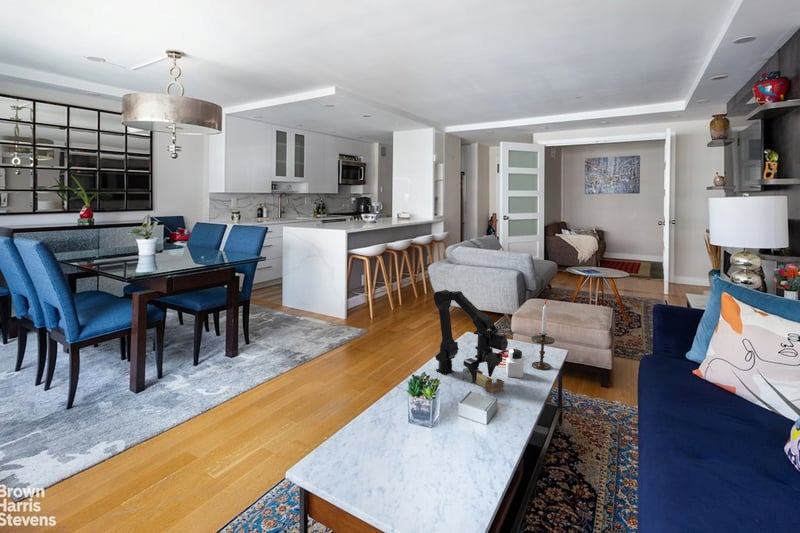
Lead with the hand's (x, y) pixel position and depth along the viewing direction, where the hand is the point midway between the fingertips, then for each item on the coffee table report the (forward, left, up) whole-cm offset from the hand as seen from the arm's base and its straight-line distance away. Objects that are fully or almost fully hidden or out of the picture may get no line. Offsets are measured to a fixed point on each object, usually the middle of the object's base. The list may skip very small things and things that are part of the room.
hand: (482, 378), depth 196 cm
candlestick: (0, +40, -3) cm, 40 cm away
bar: (-2, 0, -3) cm, 4 cm away
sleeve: (-6, 0, -3) cm, 7 cm away
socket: (+8, 0, -3) cm, 8 cm away
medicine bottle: (0, +21, -3) cm, 21 cm away
